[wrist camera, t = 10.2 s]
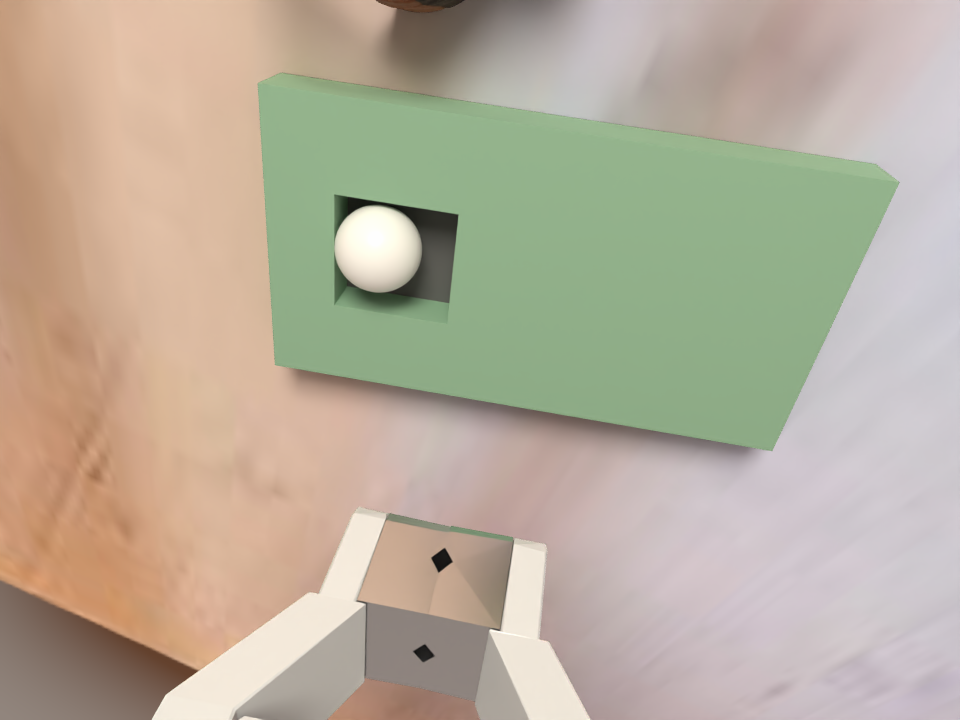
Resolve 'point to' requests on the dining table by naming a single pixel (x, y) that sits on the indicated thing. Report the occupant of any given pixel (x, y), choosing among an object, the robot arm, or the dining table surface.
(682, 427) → the green board
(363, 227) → the ball
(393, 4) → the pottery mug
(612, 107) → the dining table surface
